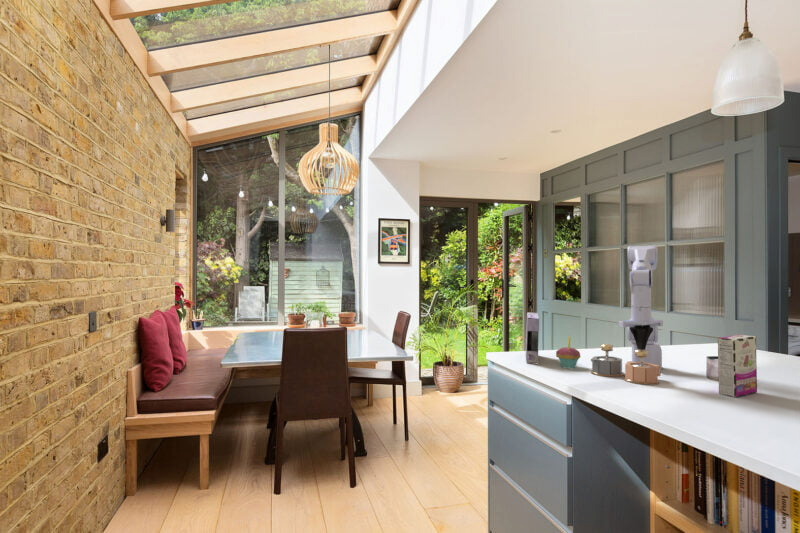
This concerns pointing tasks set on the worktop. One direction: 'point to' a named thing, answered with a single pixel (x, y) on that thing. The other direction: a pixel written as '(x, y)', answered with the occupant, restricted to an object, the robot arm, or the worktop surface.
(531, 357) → the cake pan box
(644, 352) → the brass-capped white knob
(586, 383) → the worktop surface
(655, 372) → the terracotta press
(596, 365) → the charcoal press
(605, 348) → the brass-capped silver knob
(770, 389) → the worktop surface
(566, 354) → the cupcake
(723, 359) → the candy bar box
